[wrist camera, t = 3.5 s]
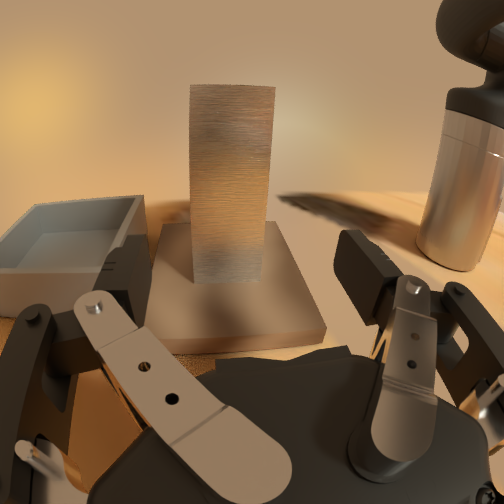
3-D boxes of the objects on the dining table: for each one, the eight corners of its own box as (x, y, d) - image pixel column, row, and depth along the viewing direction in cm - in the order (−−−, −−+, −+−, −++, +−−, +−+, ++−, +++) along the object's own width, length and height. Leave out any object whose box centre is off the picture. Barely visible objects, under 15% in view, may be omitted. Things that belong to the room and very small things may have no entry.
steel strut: (250, 248, 27) (260, 87, 20) (260, 281, 23) (275, 87, 16) (195, 249, 26) (193, 85, 19) (194, 284, 22) (189, 84, 15)
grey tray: (147, 233, 32) (143, 194, 29) (122, 322, 20) (108, 272, 18) (43, 238, 30) (34, 204, 27) (-12, 315, 18) (-32, 273, 15)
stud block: (274, 233, 33) (278, 185, 30) (322, 342, 20) (341, 277, 17) (164, 236, 31) (160, 187, 28) (143, 354, 18) (125, 286, 15)
